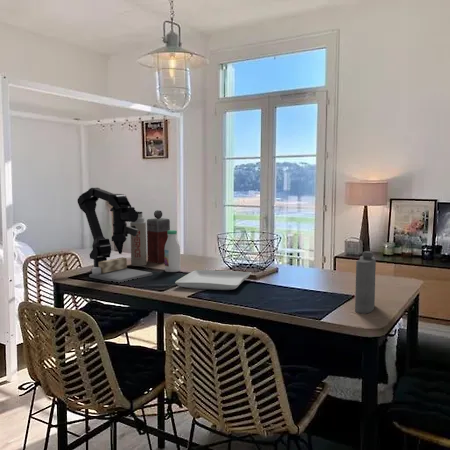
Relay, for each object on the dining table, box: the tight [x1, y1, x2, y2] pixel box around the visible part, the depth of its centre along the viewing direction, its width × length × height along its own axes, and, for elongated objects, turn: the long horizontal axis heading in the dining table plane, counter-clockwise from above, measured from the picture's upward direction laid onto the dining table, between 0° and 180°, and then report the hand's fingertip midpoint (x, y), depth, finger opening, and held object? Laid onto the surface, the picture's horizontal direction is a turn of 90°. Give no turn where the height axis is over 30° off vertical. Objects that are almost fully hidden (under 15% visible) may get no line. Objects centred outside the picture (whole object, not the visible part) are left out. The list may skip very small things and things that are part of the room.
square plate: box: [174, 269, 252, 291], centre depth 205 cm, size 27×27×4 cm
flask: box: [354, 250, 377, 315], centre depth 165 cm, size 15×6×20 cm, turn 157°
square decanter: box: [146, 209, 171, 264], centre depth 258 cm, size 9×11×28 cm
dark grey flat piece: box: [88, 266, 153, 284], centre depth 221 cm, size 22×20×5 cm
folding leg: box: [98, 257, 128, 273], centre depth 227 cm, size 15×3×5 cm, turn 146°
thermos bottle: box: [129, 211, 147, 267], centre depth 248 cm, size 8×8×28 cm
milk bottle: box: [164, 229, 181, 273], centre depth 232 cm, size 8×8×20 cm
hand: (120, 253), depth 224 cm, fingers closed
